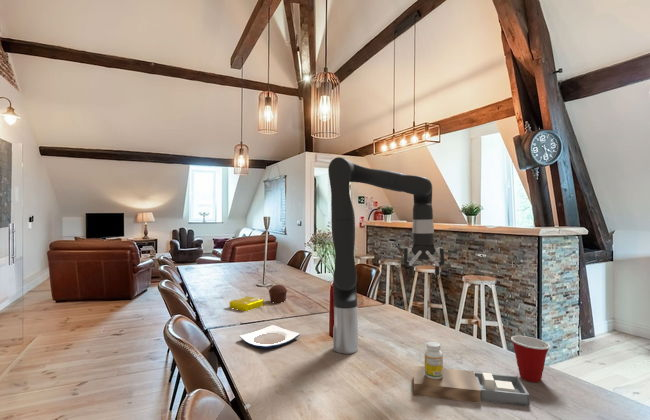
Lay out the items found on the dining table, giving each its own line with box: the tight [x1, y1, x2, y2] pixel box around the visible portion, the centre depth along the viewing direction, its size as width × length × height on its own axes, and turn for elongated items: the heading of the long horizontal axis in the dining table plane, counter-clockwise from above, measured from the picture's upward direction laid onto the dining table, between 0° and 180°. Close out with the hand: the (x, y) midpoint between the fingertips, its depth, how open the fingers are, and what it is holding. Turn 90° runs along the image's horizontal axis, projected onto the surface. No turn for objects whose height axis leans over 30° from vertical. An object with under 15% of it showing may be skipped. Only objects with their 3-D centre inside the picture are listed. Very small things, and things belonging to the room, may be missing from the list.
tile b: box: [494, 380, 515, 392], centre depth 99 cm, size 4×4×2 cm
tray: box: [474, 372, 531, 407], centre depth 100 cm, size 12×11×3 cm
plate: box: [239, 324, 301, 350], centre depth 146 cm, size 20×20×3 cm
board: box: [413, 365, 482, 404], centre depth 103 cm, size 18×12×4 cm, turn 75°
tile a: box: [481, 372, 495, 390], centre depth 100 cm, size 4×4×2 cm
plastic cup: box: [510, 335, 551, 383], centre depth 109 cm, size 11×11×12 cm
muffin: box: [268, 284, 288, 304], centre depth 211 cm, size 12×11×10 cm
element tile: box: [229, 295, 265, 312], centre depth 200 cm, size 15×15×5 cm
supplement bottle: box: [424, 341, 444, 379], centre depth 104 cm, size 5×5×10 cm
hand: (424, 276), depth 125 cm, fingers open, 8 cm apart
